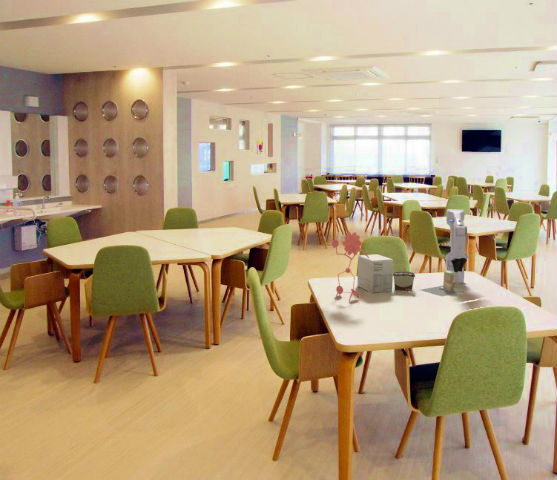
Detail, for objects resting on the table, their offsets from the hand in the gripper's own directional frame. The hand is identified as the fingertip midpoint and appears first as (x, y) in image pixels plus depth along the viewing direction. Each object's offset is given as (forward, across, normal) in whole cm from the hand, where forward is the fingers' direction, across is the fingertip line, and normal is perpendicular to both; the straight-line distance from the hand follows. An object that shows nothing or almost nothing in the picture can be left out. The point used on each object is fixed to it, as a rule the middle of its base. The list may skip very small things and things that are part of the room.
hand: (458, 271), depth 330 cm
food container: (+11, -26, +16) cm, 32 cm away
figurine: (+11, -61, +19) cm, 65 cm away
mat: (+10, -12, 0) cm, 16 cm away
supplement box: (+11, -38, +26) cm, 47 cm away
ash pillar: (+9, -7, 0) cm, 12 cm away
